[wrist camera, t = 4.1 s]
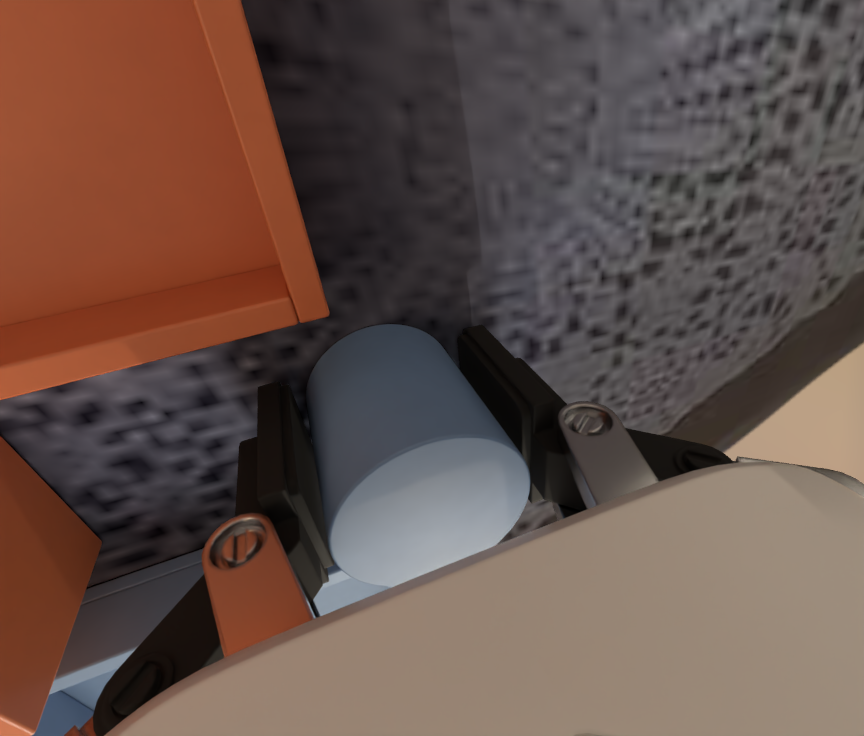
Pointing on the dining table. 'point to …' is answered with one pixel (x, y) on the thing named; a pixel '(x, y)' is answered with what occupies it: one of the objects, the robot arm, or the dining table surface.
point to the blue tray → (140, 630)
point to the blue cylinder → (407, 457)
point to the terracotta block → (36, 588)
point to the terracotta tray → (139, 189)
